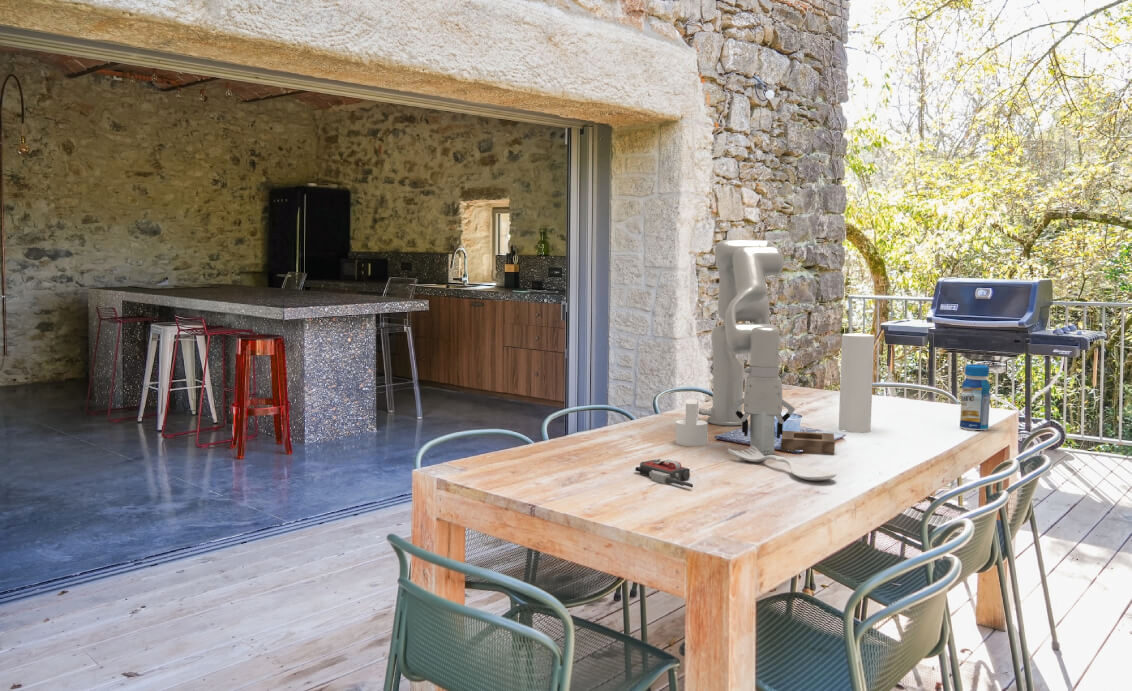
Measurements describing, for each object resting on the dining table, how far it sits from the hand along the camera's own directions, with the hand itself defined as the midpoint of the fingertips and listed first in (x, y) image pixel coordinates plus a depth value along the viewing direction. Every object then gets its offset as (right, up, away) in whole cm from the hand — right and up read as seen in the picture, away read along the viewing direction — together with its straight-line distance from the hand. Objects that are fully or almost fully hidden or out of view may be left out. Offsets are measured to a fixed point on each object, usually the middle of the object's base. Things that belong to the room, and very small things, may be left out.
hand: (762, 436), depth 240 cm
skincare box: (0, -5, +1) cm, 5 cm away
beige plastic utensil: (+1, -7, -20) cm, 21 cm away
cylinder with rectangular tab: (-17, -3, +12) cm, 22 cm away
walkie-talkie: (-28, -8, -30) cm, 42 cm away
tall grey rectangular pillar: (+36, -2, +34) cm, 50 cm away
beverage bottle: (+75, -2, +37) cm, 83 cm away
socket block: (+14, -4, +6) cm, 16 cm away
